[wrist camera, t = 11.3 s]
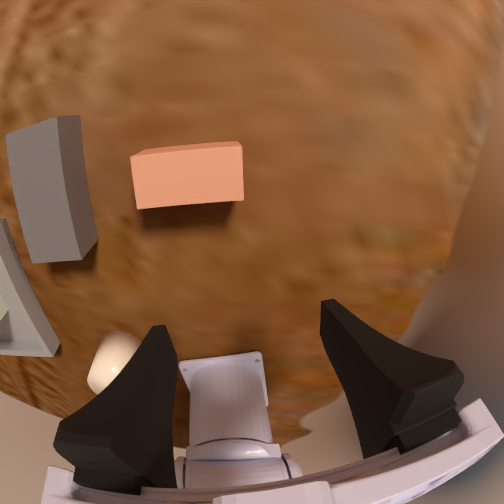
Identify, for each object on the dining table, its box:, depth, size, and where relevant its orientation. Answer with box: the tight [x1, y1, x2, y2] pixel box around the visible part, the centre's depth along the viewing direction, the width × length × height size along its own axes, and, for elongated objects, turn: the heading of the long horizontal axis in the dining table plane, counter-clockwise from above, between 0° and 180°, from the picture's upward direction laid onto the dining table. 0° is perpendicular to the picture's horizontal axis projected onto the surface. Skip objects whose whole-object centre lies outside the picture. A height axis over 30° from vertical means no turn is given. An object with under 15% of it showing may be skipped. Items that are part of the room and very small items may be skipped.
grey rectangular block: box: [6, 115, 98, 264], centre depth 16 cm, size 5×9×4 cm, turn 1°
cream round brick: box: [87, 330, 142, 395], centre depth 23 cm, size 5×5×5 cm
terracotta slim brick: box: [130, 141, 244, 209], centre depth 17 cm, size 3×6×4 cm, turn 91°
